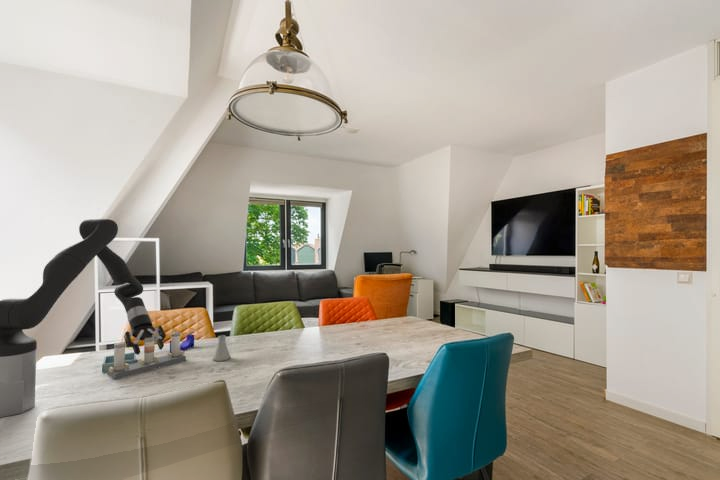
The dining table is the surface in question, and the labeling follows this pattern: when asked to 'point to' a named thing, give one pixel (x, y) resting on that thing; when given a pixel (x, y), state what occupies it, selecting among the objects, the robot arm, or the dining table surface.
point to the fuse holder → (146, 365)
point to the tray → (109, 361)
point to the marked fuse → (149, 350)
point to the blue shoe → (186, 343)
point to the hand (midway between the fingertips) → (150, 350)
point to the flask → (221, 350)
